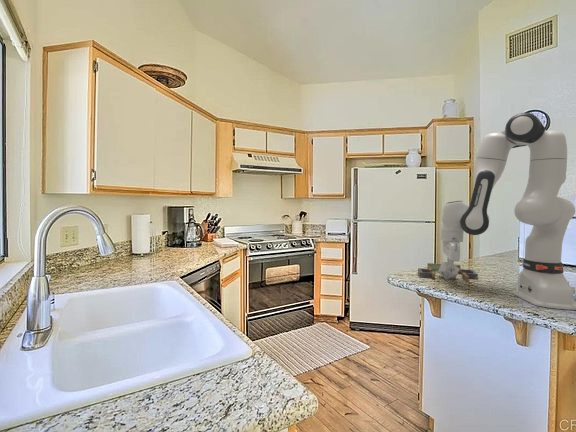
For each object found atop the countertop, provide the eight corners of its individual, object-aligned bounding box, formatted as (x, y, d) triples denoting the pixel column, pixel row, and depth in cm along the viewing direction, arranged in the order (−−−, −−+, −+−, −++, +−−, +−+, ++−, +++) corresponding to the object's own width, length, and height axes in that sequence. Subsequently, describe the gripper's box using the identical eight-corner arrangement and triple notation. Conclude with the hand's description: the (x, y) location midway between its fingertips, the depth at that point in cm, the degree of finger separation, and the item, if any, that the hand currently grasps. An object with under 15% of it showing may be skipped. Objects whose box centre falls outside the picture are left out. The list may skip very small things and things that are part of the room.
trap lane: (481, 283, 143) (481, 274, 143) (420, 278, 151) (420, 270, 151) (471, 273, 161) (471, 265, 161) (416, 269, 169) (416, 262, 169)
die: (434, 279, 152) (444, 266, 146) (435, 267, 158) (445, 254, 152) (452, 286, 150) (462, 273, 144) (452, 274, 156) (462, 261, 150)
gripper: (465, 240, 131) (462, 273, 133) (455, 234, 151) (453, 262, 152) (448, 239, 133) (446, 271, 134) (440, 233, 153) (439, 261, 154)
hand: (450, 266), depth 143 cm, fingers closed
